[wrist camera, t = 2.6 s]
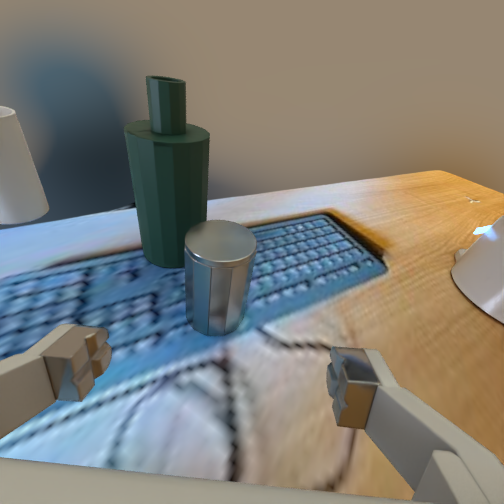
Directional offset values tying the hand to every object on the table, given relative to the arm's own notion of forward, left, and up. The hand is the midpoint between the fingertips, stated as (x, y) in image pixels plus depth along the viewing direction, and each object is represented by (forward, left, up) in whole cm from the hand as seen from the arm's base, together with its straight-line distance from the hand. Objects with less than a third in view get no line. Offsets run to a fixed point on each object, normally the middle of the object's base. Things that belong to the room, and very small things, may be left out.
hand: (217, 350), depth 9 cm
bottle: (+4, -21, -12) cm, 25 cm away
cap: (-1, -11, -12) cm, 17 cm away
